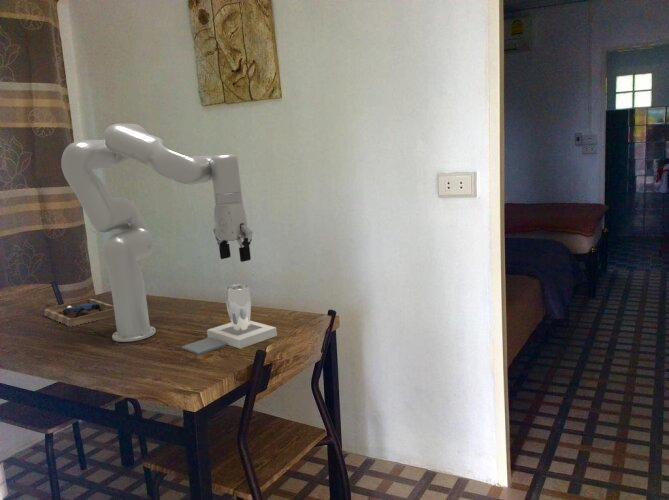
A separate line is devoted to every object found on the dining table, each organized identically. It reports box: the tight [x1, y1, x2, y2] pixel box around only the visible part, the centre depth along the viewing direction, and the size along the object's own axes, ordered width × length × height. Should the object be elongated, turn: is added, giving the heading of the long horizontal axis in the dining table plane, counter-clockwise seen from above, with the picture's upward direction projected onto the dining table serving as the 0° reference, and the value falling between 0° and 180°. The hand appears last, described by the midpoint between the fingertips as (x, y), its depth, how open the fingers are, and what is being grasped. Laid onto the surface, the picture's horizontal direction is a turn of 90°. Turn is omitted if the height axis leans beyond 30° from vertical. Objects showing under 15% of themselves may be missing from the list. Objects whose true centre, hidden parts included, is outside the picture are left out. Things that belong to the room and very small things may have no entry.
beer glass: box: [225, 283, 252, 336], centre depth 175 cm, size 7×7×15 cm
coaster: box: [181, 337, 228, 356], centre depth 169 cm, size 9×9×1 cm
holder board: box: [206, 320, 278, 350], centre depth 176 cm, size 16×13×2 cm
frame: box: [43, 297, 115, 328], centre depth 213 cm, size 24×17×2 cm
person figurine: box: [63, 303, 102, 318], centre depth 213 cm, size 11×4×18 cm
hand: (235, 259), depth 172 cm, fingers open, 9 cm apart
